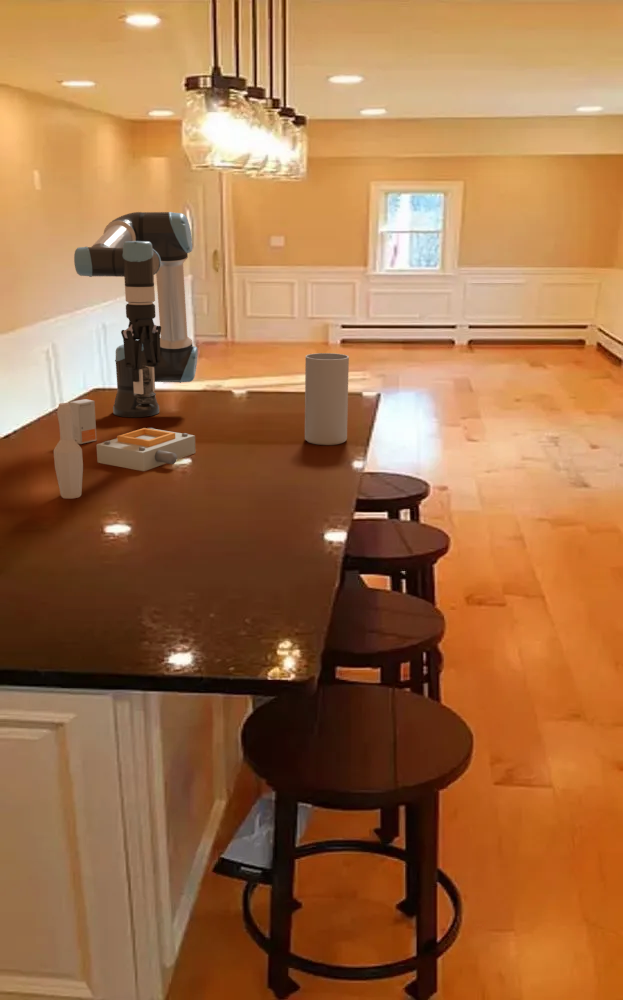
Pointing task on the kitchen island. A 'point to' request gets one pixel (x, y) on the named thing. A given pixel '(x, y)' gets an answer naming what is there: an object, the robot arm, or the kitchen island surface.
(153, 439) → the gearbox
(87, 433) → the skincare box
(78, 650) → the kitchen island surface
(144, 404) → the chess piece
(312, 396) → the cylinder vase
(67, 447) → the low poly bottle
